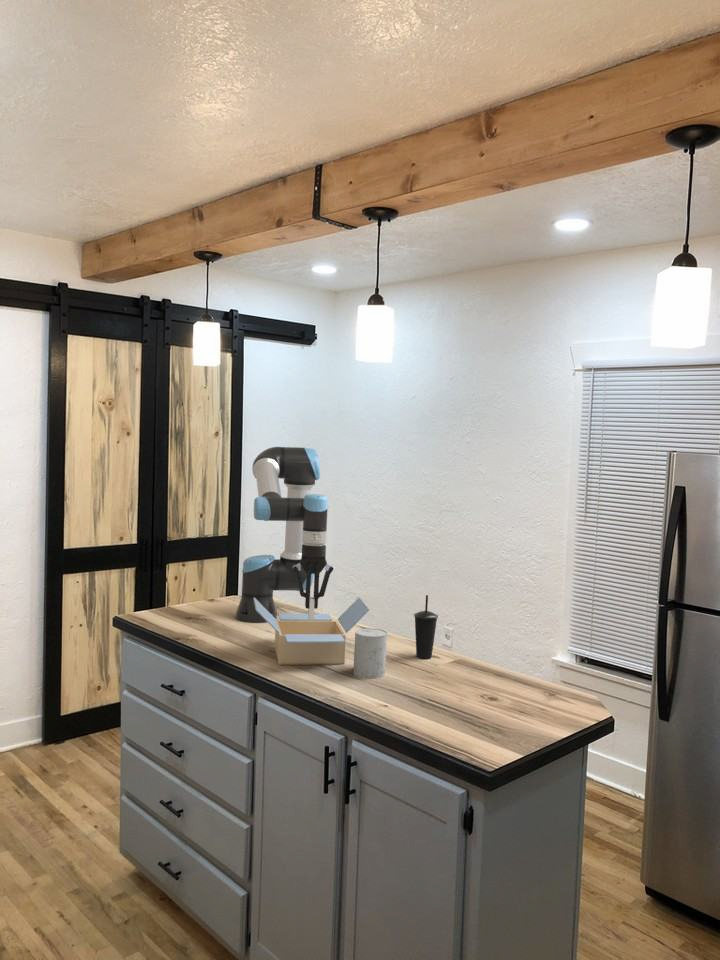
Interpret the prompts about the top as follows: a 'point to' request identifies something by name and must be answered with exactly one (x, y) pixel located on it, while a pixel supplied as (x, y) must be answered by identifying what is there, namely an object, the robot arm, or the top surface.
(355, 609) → the flap
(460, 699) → the top surface
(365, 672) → the speckled concrete cylinder
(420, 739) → the top surface
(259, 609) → the flap
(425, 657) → the drinking cup
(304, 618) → the carton
